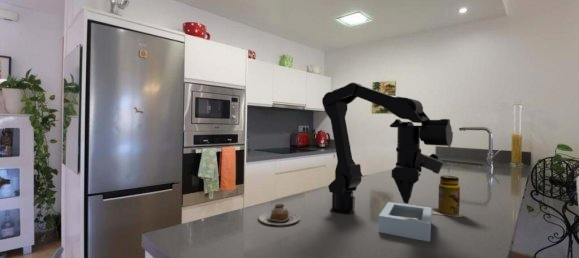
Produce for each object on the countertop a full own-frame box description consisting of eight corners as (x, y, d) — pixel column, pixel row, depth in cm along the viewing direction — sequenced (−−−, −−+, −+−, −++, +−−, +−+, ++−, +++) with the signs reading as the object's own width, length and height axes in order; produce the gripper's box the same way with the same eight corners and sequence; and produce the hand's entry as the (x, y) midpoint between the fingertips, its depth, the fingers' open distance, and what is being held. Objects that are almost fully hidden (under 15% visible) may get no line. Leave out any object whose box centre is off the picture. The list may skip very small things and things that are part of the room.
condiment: (463, 217, 86) (464, 179, 86) (433, 214, 89) (434, 177, 89) (456, 211, 93) (457, 175, 93) (429, 208, 96) (429, 173, 96)
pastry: (307, 220, 82) (307, 204, 82) (283, 231, 72) (283, 214, 72) (275, 212, 89) (276, 198, 89) (249, 222, 79) (250, 206, 79)
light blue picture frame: (378, 232, 72) (378, 215, 72) (388, 215, 86) (388, 201, 86) (430, 241, 66) (430, 223, 66) (431, 222, 80) (431, 207, 80)
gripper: (442, 147, 64) (441, 214, 64) (441, 144, 81) (440, 197, 80) (391, 145, 69) (390, 207, 69) (400, 142, 86) (399, 192, 86)
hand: (407, 200), depth 76 cm, fingers open, 6 cm apart
